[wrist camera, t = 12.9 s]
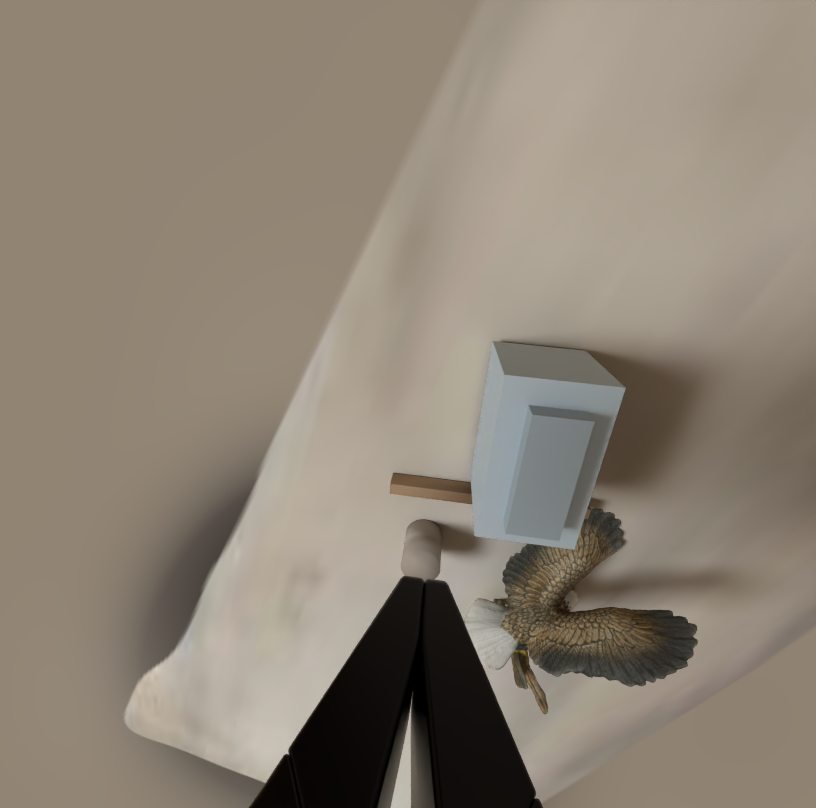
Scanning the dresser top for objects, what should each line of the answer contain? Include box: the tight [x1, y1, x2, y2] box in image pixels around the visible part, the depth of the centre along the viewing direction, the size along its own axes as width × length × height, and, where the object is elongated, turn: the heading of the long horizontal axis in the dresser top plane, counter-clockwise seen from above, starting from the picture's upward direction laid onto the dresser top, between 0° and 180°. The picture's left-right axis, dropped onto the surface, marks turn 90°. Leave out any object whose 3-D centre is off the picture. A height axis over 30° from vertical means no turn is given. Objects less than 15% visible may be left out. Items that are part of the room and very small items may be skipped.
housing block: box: [471, 341, 626, 550], centre depth 17 cm, size 4×7×5 cm, turn 175°
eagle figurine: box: [464, 509, 698, 714], centre depth 20 cm, size 8×7×9 cm
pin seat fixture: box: [390, 473, 591, 582], centre depth 21 cm, size 10×19×2 cm, turn 175°
